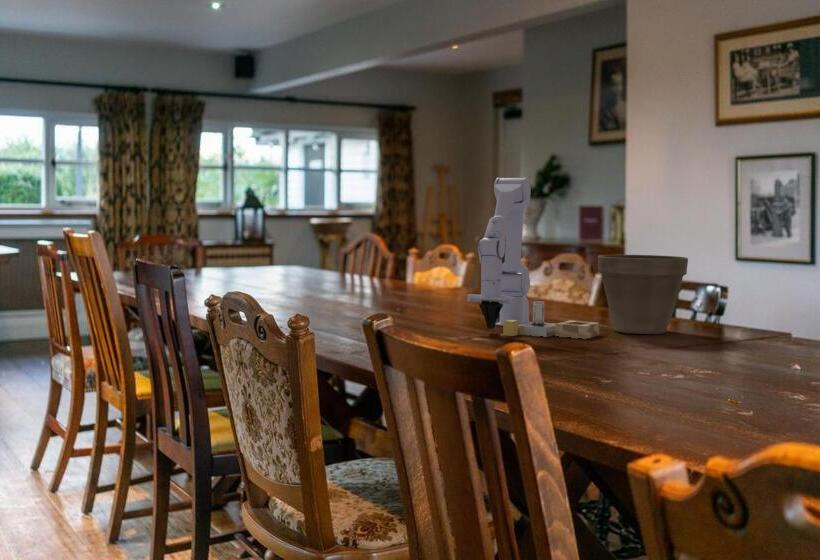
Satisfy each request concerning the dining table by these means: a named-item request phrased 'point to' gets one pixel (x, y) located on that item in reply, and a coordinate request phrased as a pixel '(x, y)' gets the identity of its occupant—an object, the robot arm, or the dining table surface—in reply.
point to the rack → (577, 329)
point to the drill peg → (538, 313)
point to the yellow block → (510, 327)
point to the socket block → (536, 329)
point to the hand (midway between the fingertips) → (490, 328)
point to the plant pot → (641, 290)
